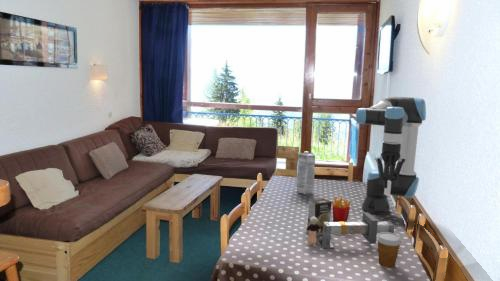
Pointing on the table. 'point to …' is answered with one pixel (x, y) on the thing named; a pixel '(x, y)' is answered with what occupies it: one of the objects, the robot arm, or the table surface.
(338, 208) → the french fries
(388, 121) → the robot arm
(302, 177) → the juice carton
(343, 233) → the grey crossbar beam
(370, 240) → the grey flat piece
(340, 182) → the table surface
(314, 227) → the grandmother figurine
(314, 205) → the coffee box
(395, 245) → the disposable coffee cup
